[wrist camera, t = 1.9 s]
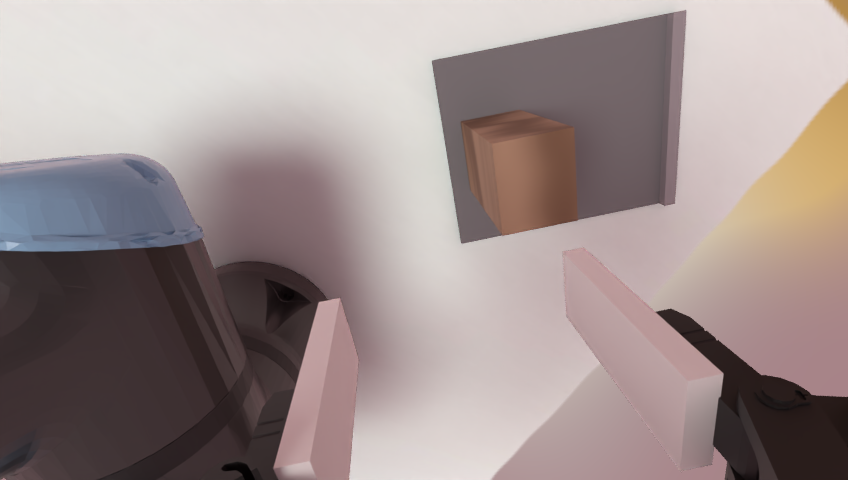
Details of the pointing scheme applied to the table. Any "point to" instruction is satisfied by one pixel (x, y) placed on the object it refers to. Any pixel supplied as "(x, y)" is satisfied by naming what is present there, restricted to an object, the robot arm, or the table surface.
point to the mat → (578, 110)
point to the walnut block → (522, 170)
